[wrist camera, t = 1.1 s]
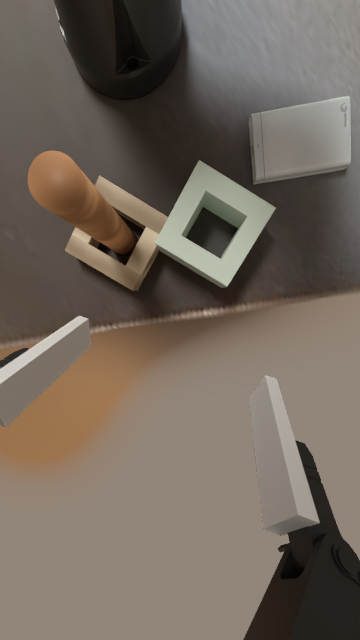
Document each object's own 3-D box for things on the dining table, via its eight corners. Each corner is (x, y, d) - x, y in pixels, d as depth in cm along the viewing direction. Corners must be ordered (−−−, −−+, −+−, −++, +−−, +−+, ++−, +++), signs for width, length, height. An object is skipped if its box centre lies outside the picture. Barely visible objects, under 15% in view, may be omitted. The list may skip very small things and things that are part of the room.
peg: (117, 221, 26) (41, 139, 13) (140, 235, 27) (90, 169, 13) (105, 246, 27) (19, 192, 13) (128, 259, 27) (66, 220, 13)
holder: (107, 187, 26) (99, 175, 23) (172, 226, 26) (171, 219, 24) (75, 254, 27) (64, 250, 25) (137, 291, 28) (132, 290, 25)
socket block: (197, 181, 25) (199, 159, 21) (262, 221, 26) (276, 207, 22) (159, 250, 27) (154, 242, 23) (221, 288, 27) (227, 286, 23)
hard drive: (350, 93, 22) (251, 111, 23) (351, 164, 23) (256, 179, 24) (339, 107, 24) (247, 123, 25) (340, 172, 25) (251, 187, 26)
